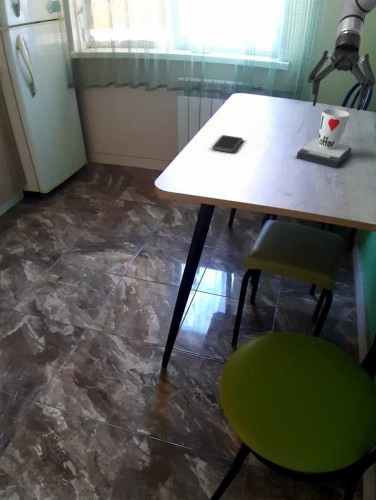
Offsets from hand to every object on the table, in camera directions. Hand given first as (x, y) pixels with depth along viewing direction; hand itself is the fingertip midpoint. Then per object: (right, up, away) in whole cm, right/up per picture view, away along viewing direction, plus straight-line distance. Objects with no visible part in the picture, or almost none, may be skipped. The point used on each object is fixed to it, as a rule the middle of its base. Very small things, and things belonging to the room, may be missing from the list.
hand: (336, 105), depth 128 cm
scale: (-2, -13, +6) cm, 15 cm away
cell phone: (-33, -8, +10) cm, 35 cm away
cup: (-1, -11, +5) cm, 12 cm away
